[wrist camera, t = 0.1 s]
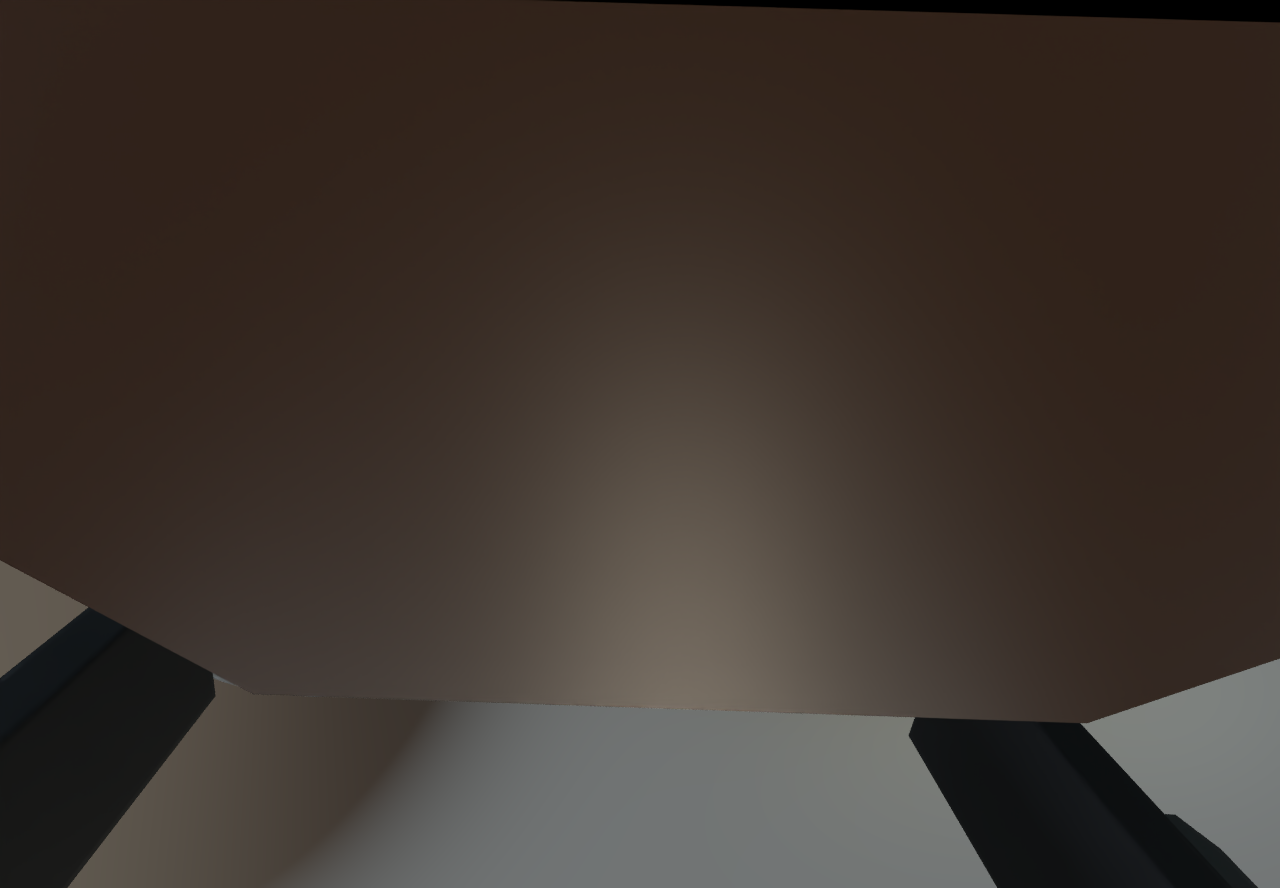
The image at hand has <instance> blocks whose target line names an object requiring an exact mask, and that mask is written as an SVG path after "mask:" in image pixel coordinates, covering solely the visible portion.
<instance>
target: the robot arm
mask: <svg viewBox="0 0 1280 888" xmlns="http://www.w3.org/2000/svg"><path fill="white" fill-rule="evenodd" d="M214 697H215V688H214V680H213V673H212V672H210V671H208V670H206V669H205V668H203V667H201V666H199V665H197V664H195V663H193V662H191V661H190V660H188V659H186V658H184V657H182V656H180V655H178V654H176V653H174V652H173V651H171V650H169V649H167V648H165V647H163V646H161V645H159V644H157V643H156V642H154V641H152V640H150V639H148V638H146V637H144V636H142V635H140V634H139V633H137V632H135V631H133V630H131V629H129V628H127V627H125V626H123V625H122V624H120V623H118V622H116V621H114V620H112V619H110V618H108V617H106V616H105V615H103V614H101V613H99V612H97V611H95V610H93V609H91V608H87V609H86V610H85V611H84V612H82V613H81V614H80V615H79V616H77V617H76V618H75V619H73V620H72V621H71V622H70V623H68V624H67V625H66V626H65V627H63V628H62V629H61V630H60V631H58V633H56V634H55V635H53V636H52V637H51V638H50V639H48V640H47V641H46V642H45V643H43V644H42V645H41V646H40V647H38V648H37V649H36V650H35V651H33V652H32V653H31V654H30V655H28V656H27V657H26V658H25V659H23V660H22V661H21V662H20V663H18V665H16V666H15V667H13V668H12V669H11V670H10V671H8V672H7V673H6V674H5V675H3V676H2V677H1V678H0V888H67V887H68V886H69V885H70V884H71V882H72V881H73V880H74V878H75V877H76V876H77V874H78V873H79V872H80V871H81V869H82V868H83V867H84V865H85V864H86V863H87V862H88V860H89V859H90V858H91V856H92V855H93V854H94V853H95V851H96V850H97V849H98V847H99V846H100V845H101V843H102V842H103V841H104V839H105V838H106V837H107V836H108V834H109V833H110V832H111V830H112V829H113V828H114V827H115V825H116V824H117V823H118V821H119V820H120V819H121V817H122V816H123V815H124V814H125V812H126V811H127V810H128V809H129V807H130V806H131V805H132V803H133V802H134V801H135V799H136V798H137V797H138V796H139V794H140V793H141V792H142V790H143V789H144V788H145V787H146V785H147V784H148V783H149V781H150V780H151V779H152V777H153V776H154V775H155V774H156V772H157V771H158V770H159V768H160V767H161V766H162V764H163V763H164V762H165V761H166V759H167V758H168V757H169V755H170V754H171V753H172V752H173V750H174V749H175V748H176V746H177V745H178V743H179V742H180V741H181V740H182V738H183V737H184V736H185V735H186V733H187V732H188V731H189V729H190V728H191V727H192V726H193V724H194V723H195V722H196V720H197V719H198V718H199V717H200V715H201V714H202V713H203V711H204V710H205V709H206V707H207V706H208V705H209V704H210V702H211V701H212V700H213V698H214ZM909 737H910V739H911V740H912V742H913V744H914V746H915V747H916V749H917V751H918V752H919V754H920V756H921V758H922V759H923V761H924V763H925V764H926V766H927V768H928V770H929V771H930V773H931V775H932V776H933V778H934V780H935V782H936V783H937V785H938V787H939V788H940V790H941V792H942V794H943V795H944V797H945V799H946V800H947V802H948V804H949V806H950V807H951V809H952V811H953V813H954V814H955V816H956V818H957V819H958V821H959V823H960V825H961V826H962V828H963V830H964V831H965V833H966V835H967V837H968V838H969V840H970V842H971V843H972V845H973V847H974V848H975V850H976V852H977V854H978V855H979V857H980V859H981V860H982V862H983V864H984V866H985V867H986V869H987V871H988V873H989V874H990V876H991V878H992V879H993V881H994V883H995V885H996V886H997V888H1258V887H1257V886H1256V885H1255V884H1254V883H1253V882H1252V881H1251V880H1250V879H1249V878H1248V877H1247V876H1246V875H1245V874H1244V873H1243V872H1242V871H1241V870H1240V869H1239V868H1238V866H1237V865H1236V864H1235V863H1234V862H1233V861H1232V860H1231V859H1230V858H1229V857H1228V856H1227V855H1226V854H1225V853H1224V852H1223V851H1222V850H1221V849H1220V848H1219V847H1217V846H1216V845H1215V844H1213V843H1212V842H1211V841H1209V840H1208V839H1207V838H1205V837H1204V836H1203V835H1201V834H1200V833H1199V832H1197V831H1196V830H1195V829H1194V828H1192V827H1191V826H1189V825H1188V824H1187V823H1186V822H1184V821H1183V820H1182V819H1180V818H1179V817H1178V816H1176V815H1170V814H1164V813H1163V812H1162V811H1161V810H1160V809H1159V808H1158V807H1157V806H1156V805H1155V804H1154V802H1153V801H1152V800H1151V799H1150V798H1149V797H1148V796H1147V795H1146V794H1145V793H1144V792H1143V791H1142V789H1141V788H1140V787H1139V786H1138V785H1137V784H1136V783H1135V782H1134V781H1133V780H1132V779H1131V778H1130V776H1129V775H1128V774H1127V773H1126V772H1125V771H1124V770H1123V769H1122V768H1121V767H1120V766H1119V765H1118V763H1116V761H1115V760H1114V759H1113V758H1112V757H1111V756H1110V755H1109V754H1108V753H1107V752H1106V751H1105V749H1104V748H1103V747H1102V746H1101V745H1100V744H1099V743H1098V742H1097V741H1096V740H1095V739H1094V738H1093V736H1092V735H1091V734H1090V733H1089V732H1088V731H1087V730H1086V729H1085V728H1084V727H1083V726H1082V725H1081V724H1080V723H1065V722H1036V721H1007V720H979V719H950V718H921V717H915V719H914V722H913V724H912V727H911V731H910V733H909Z"/></svg>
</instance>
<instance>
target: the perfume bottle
mask: <svg viewBox="0 0 1280 888" xmlns="http://www.w3.org/2000/svg"><path fill="white" fill-rule="evenodd" d="M0 560H1V561H3V562H5V563H7V564H8V565H10V566H12V567H14V568H16V569H18V570H20V571H22V572H24V573H25V574H27V575H29V576H31V577H33V578H35V579H37V580H39V581H41V582H43V583H44V584H46V585H48V586H50V587H52V588H54V589H55V590H57V591H59V592H61V593H63V594H65V595H67V596H69V597H71V598H72V599H74V600H76V601H78V602H80V603H82V604H84V605H86V606H88V607H89V608H91V609H93V610H95V611H97V612H99V613H101V614H103V615H105V616H106V617H108V618H110V619H112V620H114V621H116V622H118V623H120V624H122V625H123V626H125V627H127V628H129V629H131V630H133V631H135V632H137V633H139V634H140V635H142V636H144V637H146V638H148V639H150V640H152V641H154V642H156V643H157V644H159V645H161V646H163V647H165V648H167V649H169V650H171V651H173V652H174V653H176V654H178V655H180V656H182V657H184V658H186V659H188V660H190V661H191V662H193V663H195V664H197V665H199V666H201V667H203V668H205V669H206V670H208V671H210V672H212V673H214V674H216V675H218V676H220V677H222V678H223V679H225V680H227V681H229V682H231V683H233V684H235V685H237V686H239V687H241V688H242V689H244V690H246V691H248V692H250V693H252V694H262V695H292V696H319V697H348V698H376V699H377V698H378V699H406V700H435V701H462V702H465V701H466V702H491V703H520V704H521V703H522V704H549V705H577V706H579V705H580V706H606V707H607V706H608V707H634V708H663V709H692V710H721V711H749V712H778V713H807V714H808V713H809V714H836V715H864V716H866V715H867V716H893V717H921V718H950V719H979V720H1007V721H1036V722H1065V723H1089V722H1092V721H1095V720H1098V719H1101V718H1104V717H1107V716H1110V715H1113V714H1116V713H1119V712H1122V711H1125V710H1128V709H1130V708H1133V707H1137V706H1140V705H1143V704H1146V703H1148V702H1152V701H1155V700H1157V699H1160V698H1163V697H1166V696H1169V695H1172V694H1175V693H1178V692H1181V691H1184V690H1187V689H1190V688H1193V687H1196V686H1199V685H1202V684H1205V683H1208V682H1211V681H1214V680H1217V679H1220V678H1223V677H1226V676H1229V675H1232V674H1235V673H1238V672H1241V671H1244V670H1247V669H1250V668H1253V667H1256V666H1258V665H1262V664H1265V663H1268V662H1271V661H1274V660H1277V659H1280V0H0Z"/></svg>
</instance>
